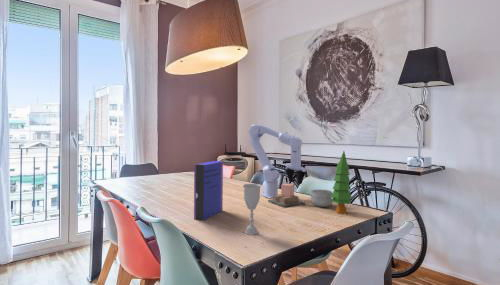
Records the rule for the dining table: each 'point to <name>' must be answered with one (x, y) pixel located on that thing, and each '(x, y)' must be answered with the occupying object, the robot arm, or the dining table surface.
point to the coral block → (287, 190)
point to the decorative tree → (341, 186)
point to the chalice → (251, 203)
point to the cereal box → (208, 189)
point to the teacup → (321, 197)
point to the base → (286, 201)
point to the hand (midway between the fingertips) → (295, 182)
